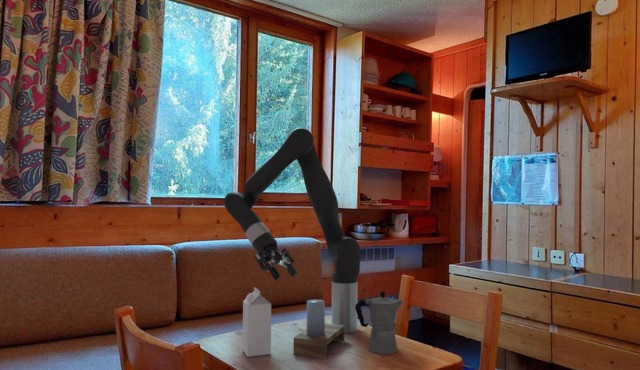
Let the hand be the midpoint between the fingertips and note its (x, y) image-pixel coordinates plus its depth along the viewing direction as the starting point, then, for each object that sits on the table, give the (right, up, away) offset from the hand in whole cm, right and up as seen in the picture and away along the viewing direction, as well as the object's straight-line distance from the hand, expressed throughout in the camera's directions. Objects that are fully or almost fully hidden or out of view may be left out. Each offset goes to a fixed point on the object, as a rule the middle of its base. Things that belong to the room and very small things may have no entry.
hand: (286, 276), depth 149 cm
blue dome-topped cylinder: (+9, -16, -8) cm, 20 cm away
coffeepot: (+29, -21, -7) cm, 37 cm away
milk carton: (-8, -21, -10) cm, 25 cm away
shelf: (+11, -21, -5) cm, 24 cm away
